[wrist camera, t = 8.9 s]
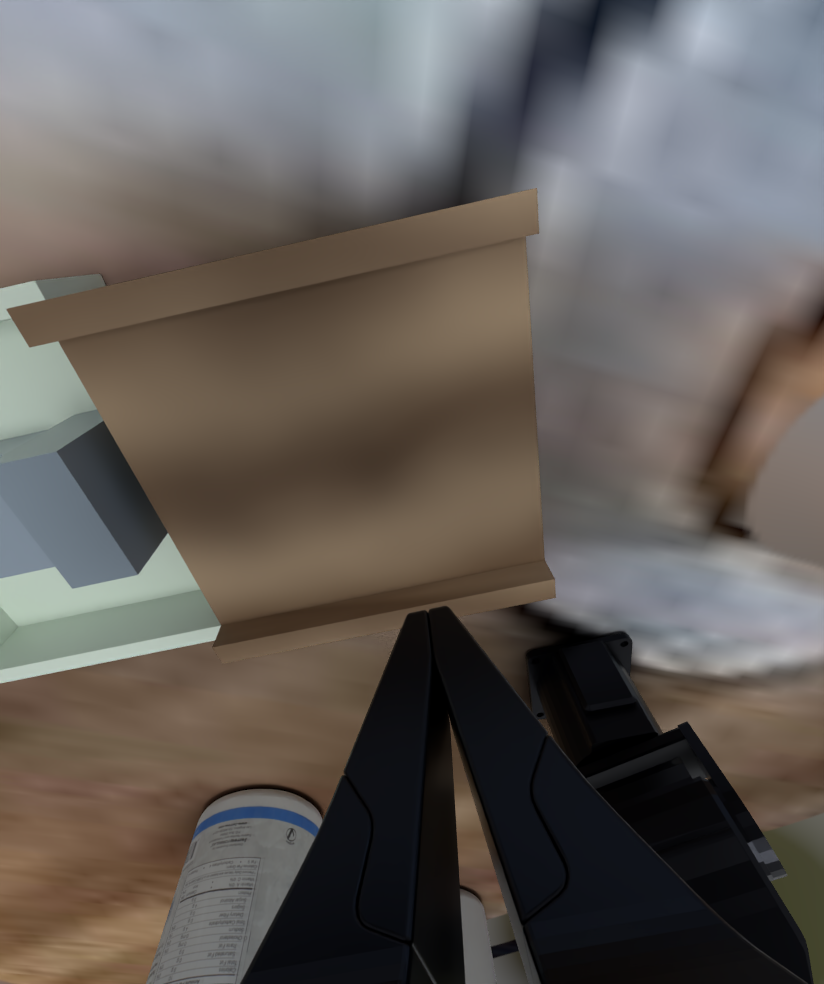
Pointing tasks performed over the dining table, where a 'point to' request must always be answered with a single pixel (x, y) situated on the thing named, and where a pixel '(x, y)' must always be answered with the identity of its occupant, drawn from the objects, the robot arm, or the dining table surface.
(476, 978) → the cylinder vase
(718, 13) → the dining table surface
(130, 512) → the front tile
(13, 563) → the rear tile
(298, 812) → the supplement tub
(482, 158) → the dining table surface
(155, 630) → the tray
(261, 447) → the brown square tray
